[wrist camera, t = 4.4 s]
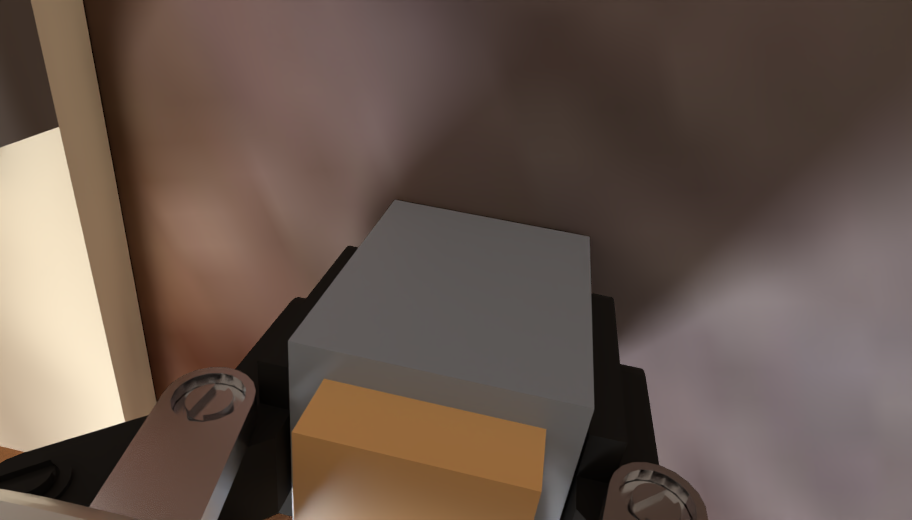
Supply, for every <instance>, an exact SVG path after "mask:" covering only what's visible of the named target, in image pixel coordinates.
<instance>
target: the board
mask: <svg viewBox="0 0 912 520" xmlns="http://www.w3.org/2000/svg"><path fill="white" fill-rule="evenodd" d="M155 404H156V398H155V392H154V387H153V382H152V376H151V371H150V365H149V360H148V354H147V349H146V343H145V338H144V333H143V327H142V322H141V316H140V311H139V305H138V300H137V294H136V289H135V283H134V278H133V273H132V267H131V262H130V256H129V251H128V245H127V240H126V234H125V229H124V224H123V218H122V213H121V207H120V202H119V196H118V191H117V185H116V180H115V174H114V169H113V164H112V158H111V153H110V147H109V142H108V136H107V131H106V125H105V120H104V115H103V109H102V104H101V98H100V93H99V87H98V82H97V76H96V71H95V65H94V60H93V55H92V49H91V44H90V38H89V33H88V27H87V22H86V16H85V11H84V6H83V0H0V446H3V447H7V448H11V449H15V450H19V451H23V452H27V451H31V450H34V449H37V448H41V447H44V446H47V445H51V444H54V443H57V442H61V441H64V440H67V439H70V438H74V437H77V436H80V435H84V434H87V433H90V432H94V431H97V430H100V429H104V428H107V427H110V426H113V425H117V424H120V423H123V422H127V421H130V420H133V419H137V418H140V417H143V416H147V415H149V414H150V412H151V411H152V409H153V408H154V406H155Z"/></svg>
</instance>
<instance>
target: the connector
mask: <svg viewBox="0 0 912 520" xmlns="http://www.w3.org/2000/svg"><path fill="white" fill-rule="evenodd" d="M288 360H289V399H290V437H291V476H292V514H293V520H560V517H561V513H562V510H563V507H564V504H565V501H566V498H567V494H568V491H569V488H570V485H571V482H572V478H573V475H574V472H575V469H576V466H577V463H578V459H579V456H580V453H581V450H582V447H583V443H584V440H585V437H586V434H587V431H588V428H589V424H590V421H591V418H592V415H593V412H594V376H593V339H592V303H591V267H590V237H589V236H583V235H578V234H573V233H568V232H562V231H557V230H552V229H546V228H541V227H536V226H531V225H525V224H520V223H515V222H510V221H504V220H499V219H494V218H488V217H483V216H478V215H473V214H467V213H462V212H457V211H452V210H446V209H441V208H436V207H430V206H425V205H420V204H415V203H409V202H404V201H399V200H394V201H393V203H392V204H391V205H390V207H389V208H388V209H387V211H386V212H385V213H384V215H383V216H382V217H381V219H380V220H379V221H378V223H377V224H376V225H375V227H374V228H373V229H372V231H371V232H370V233H369V234H368V236H367V237H366V238H365V240H364V241H363V242H362V244H361V245H360V246H359V248H358V249H357V250H356V252H355V253H354V254H353V256H352V257H351V258H350V260H349V261H348V262H347V264H346V265H345V266H344V268H343V269H342V270H341V271H340V273H339V274H338V275H337V277H336V278H335V279H334V281H333V282H332V283H331V285H330V286H329V287H328V289H327V290H326V291H325V293H324V294H323V295H322V297H321V298H320V299H319V301H318V302H317V303H316V305H315V306H314V307H313V309H312V310H311V311H310V312H309V314H308V315H307V316H306V318H305V319H304V320H303V322H302V323H301V324H300V326H299V327H298V328H297V330H296V331H295V332H294V334H293V335H292V336H291V338H290V339H289V340H288Z"/></svg>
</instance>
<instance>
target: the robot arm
mask: <svg viewBox="0 0 912 520" xmlns="http://www.w3.org/2000/svg"><path fill="white" fill-rule="evenodd" d="M357 249H358V247H353V246H348V247H346V249H345V250H344V251H343V252H342V254H341V255H340V256H339V257H338V259H337V260H336V261H335V263H334V264H333V265H332V266H331V268H330V269H329V270H328V271H327V273H326V274H325V275H324V276H323V278H322V279H321V280H320V282H319V283H318V284H317V285H316V287H315V288H314V289H313V290H312V292H311V293H310V294H309V296H308V297H307V298H301V297H297V298H294V299H293V300H292V301H291V302H290V303H289V305H288V306H287V307H286V308H285V309H284V311H283V312H282V313H281V314H280V315H279V317H278V318H277V319H276V320H275V322H274V323H273V324H272V325H271V326H270V328H269V329H268V330H267V331H266V332H265V334H264V335H263V336H262V337H261V339H260V340H259V341H258V342H257V343H256V345H255V346H254V347H253V348H252V349H251V351H250V352H249V353H248V354H247V356H246V357H245V358H244V359H243V360H242V362H241V363H240V364H239V365H238V366H237V368H236V369H230V368H225V367H210V368H205V369H200V370H196V371H193V372H191V373H188V374H186V375H183V376H182V377H180V378H179V379H177V380H175V381H174V382H172V383H171V384H170V385H169V387H168V388H167V389H166V390H165V391H164V392H163V394H162V395H161V397H160V398H159V400H158V401H157V403H156V404H155V406H154V408H153V409H152V411H151V412H150V414H149V415H147V416H143V417H140V418H137V419H133V420H130V421H127V422H123V423H120V424H117V425H113V426H110V427H107V428H104V429H100V430H97V431H94V432H90V433H87V434H84V435H80V436H77V437H74V438H70V439H67V440H64V441H61V442H57V443H54V444H51V445H47V446H44V447H41V448H37V449H34V450H31V451H27V452H24V453H22V454H19V455H17V456H14V457H12V458H9V459H7V460H5V461H3V462H2V463H0V520H264V519H266V518H269V517H271V516H273V515H276V514H278V513H280V514H284V515H288V516H292V517H293V514H292V476H291V437H290V399H289V360H288V340H289V339H290V338H291V336H292V335H293V334H294V332H295V331H296V330H297V328H298V327H299V326H300V324H301V323H302V322H303V320H304V319H305V318H306V316H307V315H308V314H309V312H310V311H311V310H312V309H313V307H314V306H315V305H316V303H317V302H318V301H319V299H320V298H321V297H322V295H323V294H324V293H325V291H326V290H327V289H328V287H329V286H330V285H331V283H332V282H333V281H334V279H335V278H336V277H337V275H338V274H339V273H340V271H341V270H342V269H343V268H344V266H345V265H346V264H347V262H348V261H349V260H350V258H351V257H352V256H353V254H354V253H355V252H356V250H357ZM591 303H592V339H593V376H594V412H593V415H592V418H591V421H590V424H589V428H588V431H587V434H586V437H585V440H584V443H583V447H582V450H581V453H580V456H579V459H578V463H577V466H576V469H575V472H574V475H573V478H572V482H571V485H570V488H569V491H568V494H567V498H566V501H565V504H564V507H563V510H562V513H561V517H560V520H708V516H707V511H706V506H705V504H704V502H703V501H702V499H701V497H700V495H699V493H698V492H697V491H696V490H695V489H694V488H693V487H692V486H691V485H690V483H689V482H688V481H686V480H685V479H683V478H682V477H681V476H679V475H678V474H677V473H675V472H673V471H671V470H669V469H667V468H665V467H663V466H660V465H659V462H658V455H657V449H656V442H655V435H654V429H653V422H652V416H651V409H650V403H649V396H648V390H647V383H646V376H645V373H644V370H643V369H641V368H636V367H632V366H627V365H622V364H620V360H619V349H618V339H617V328H616V318H615V307H614V299H613V298H612V297H607V296H602V295H597V294H592V293H591Z"/></svg>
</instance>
